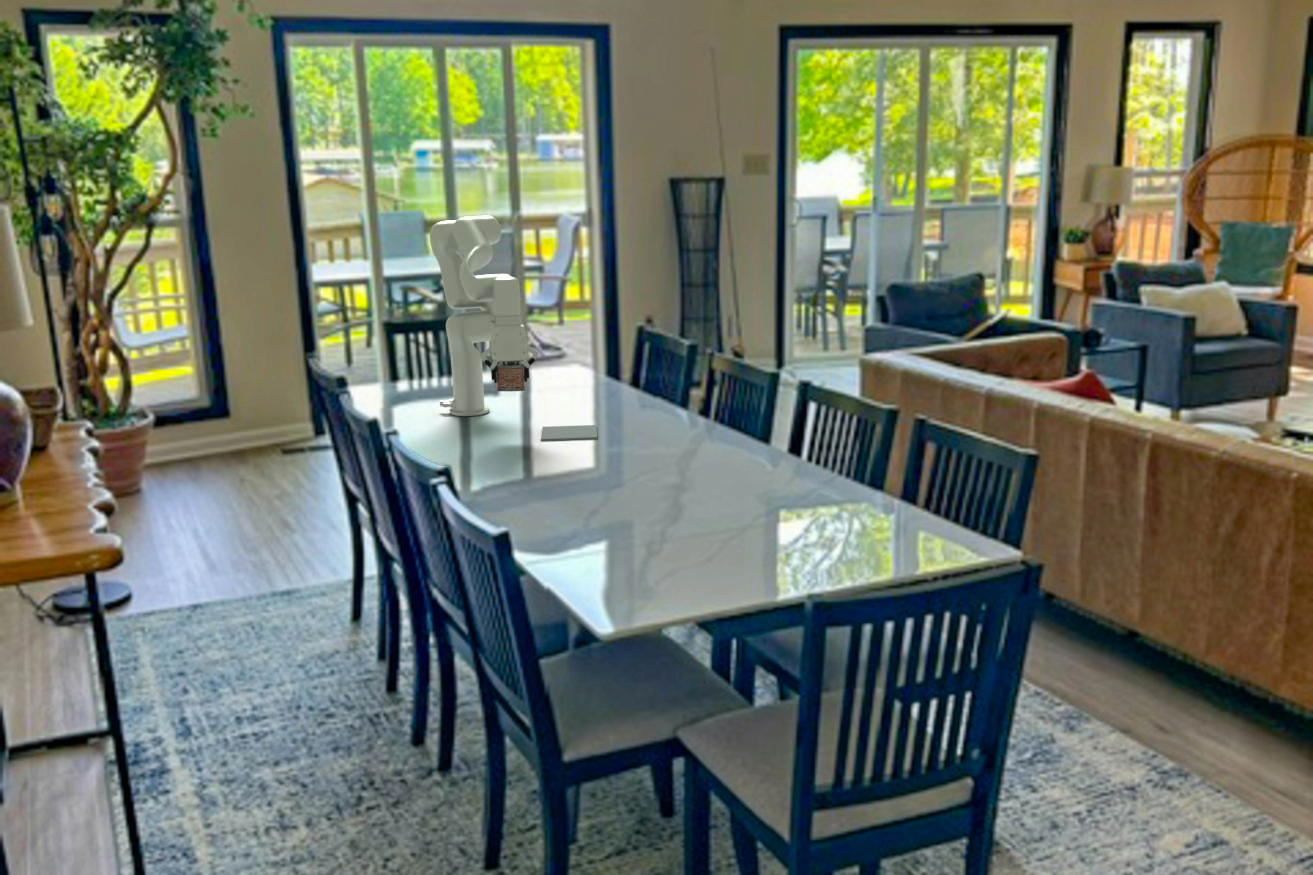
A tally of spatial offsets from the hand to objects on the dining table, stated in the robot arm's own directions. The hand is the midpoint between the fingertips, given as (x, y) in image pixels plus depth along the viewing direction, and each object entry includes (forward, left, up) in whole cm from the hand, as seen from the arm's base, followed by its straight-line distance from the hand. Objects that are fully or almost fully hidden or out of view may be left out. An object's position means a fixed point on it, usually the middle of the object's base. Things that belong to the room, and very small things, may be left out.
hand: (510, 381), depth 325 cm
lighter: (0, 0, -3) cm, 3 cm away
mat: (+16, -1, -16) cm, 23 cm away
